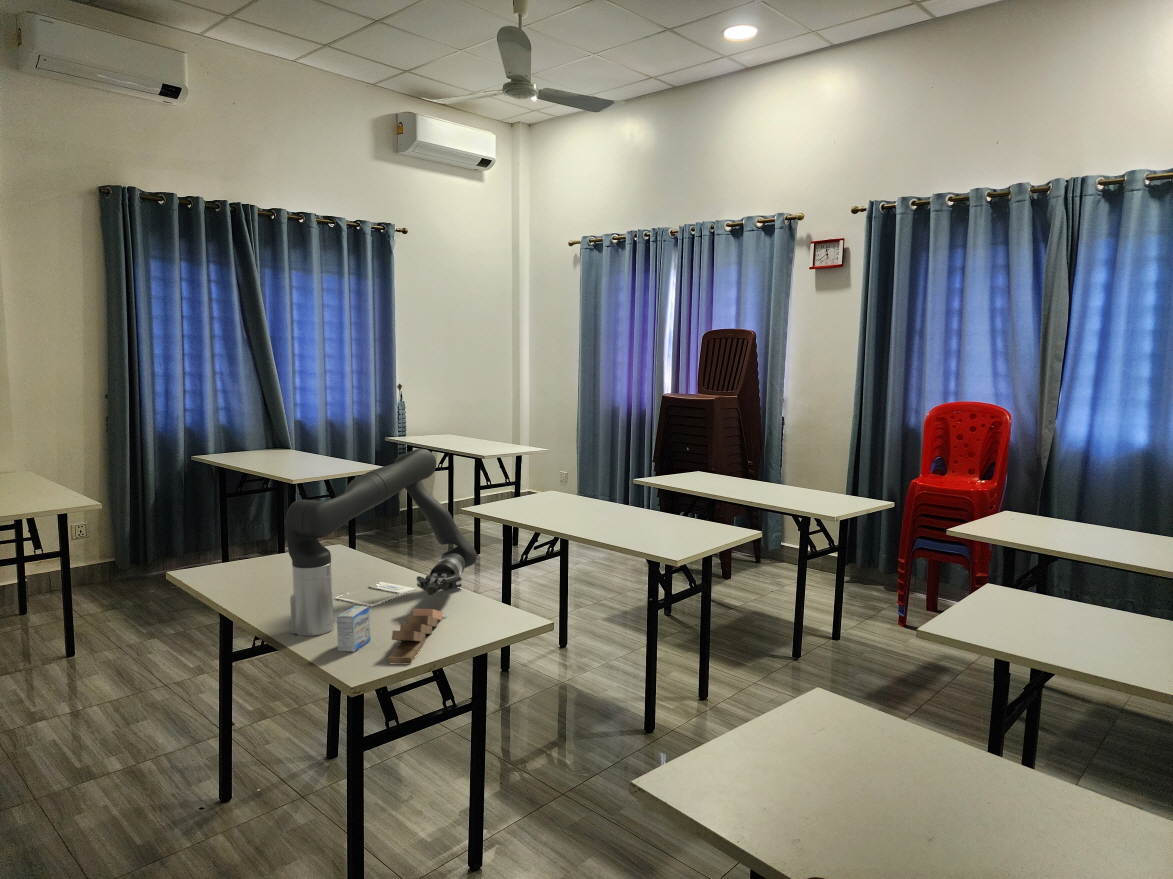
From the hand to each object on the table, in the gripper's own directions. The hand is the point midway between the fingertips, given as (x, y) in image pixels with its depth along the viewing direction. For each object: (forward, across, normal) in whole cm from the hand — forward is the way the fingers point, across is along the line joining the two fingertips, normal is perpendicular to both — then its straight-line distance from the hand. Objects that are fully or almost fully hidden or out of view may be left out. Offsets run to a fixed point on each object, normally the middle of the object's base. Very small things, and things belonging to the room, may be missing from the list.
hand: (430, 591), depth 195 cm
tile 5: (+18, 0, +8) cm, 20 cm away
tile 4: (+15, 0, +7) cm, 16 cm away
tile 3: (+9, 0, +7) cm, 11 cm away
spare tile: (-1, 0, +7) cm, 7 cm away
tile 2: (+4, 0, +7) cm, 8 cm away
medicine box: (+18, -14, +8) cm, 24 cm away
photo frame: (-22, -22, +9) cm, 32 cm away
